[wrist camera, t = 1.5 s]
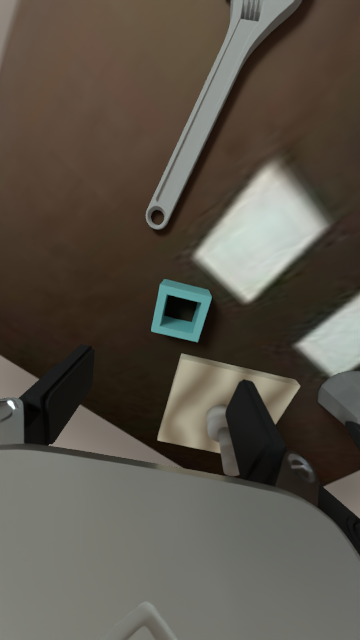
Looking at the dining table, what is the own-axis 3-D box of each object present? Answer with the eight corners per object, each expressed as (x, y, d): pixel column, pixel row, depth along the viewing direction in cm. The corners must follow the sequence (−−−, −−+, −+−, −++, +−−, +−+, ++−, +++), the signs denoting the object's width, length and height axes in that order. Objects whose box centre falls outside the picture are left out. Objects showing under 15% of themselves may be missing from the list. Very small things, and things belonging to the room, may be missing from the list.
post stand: (295, 379, 30) (343, 438, 21) (250, 451, 37) (270, 518, 28) (181, 353, 29) (178, 402, 20) (158, 432, 36) (148, 495, 27)
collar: (208, 289, 25) (212, 297, 21) (196, 329, 27) (197, 342, 24) (164, 278, 25) (160, 284, 21) (156, 319, 27) (150, 331, 23)
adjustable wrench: (163, 235, 23) (160, 234, 21) (120, 202, 22) (114, 199, 20) (326, -38, 15) (343, -75, 13) (270, -115, 13) (281, -165, 12)
